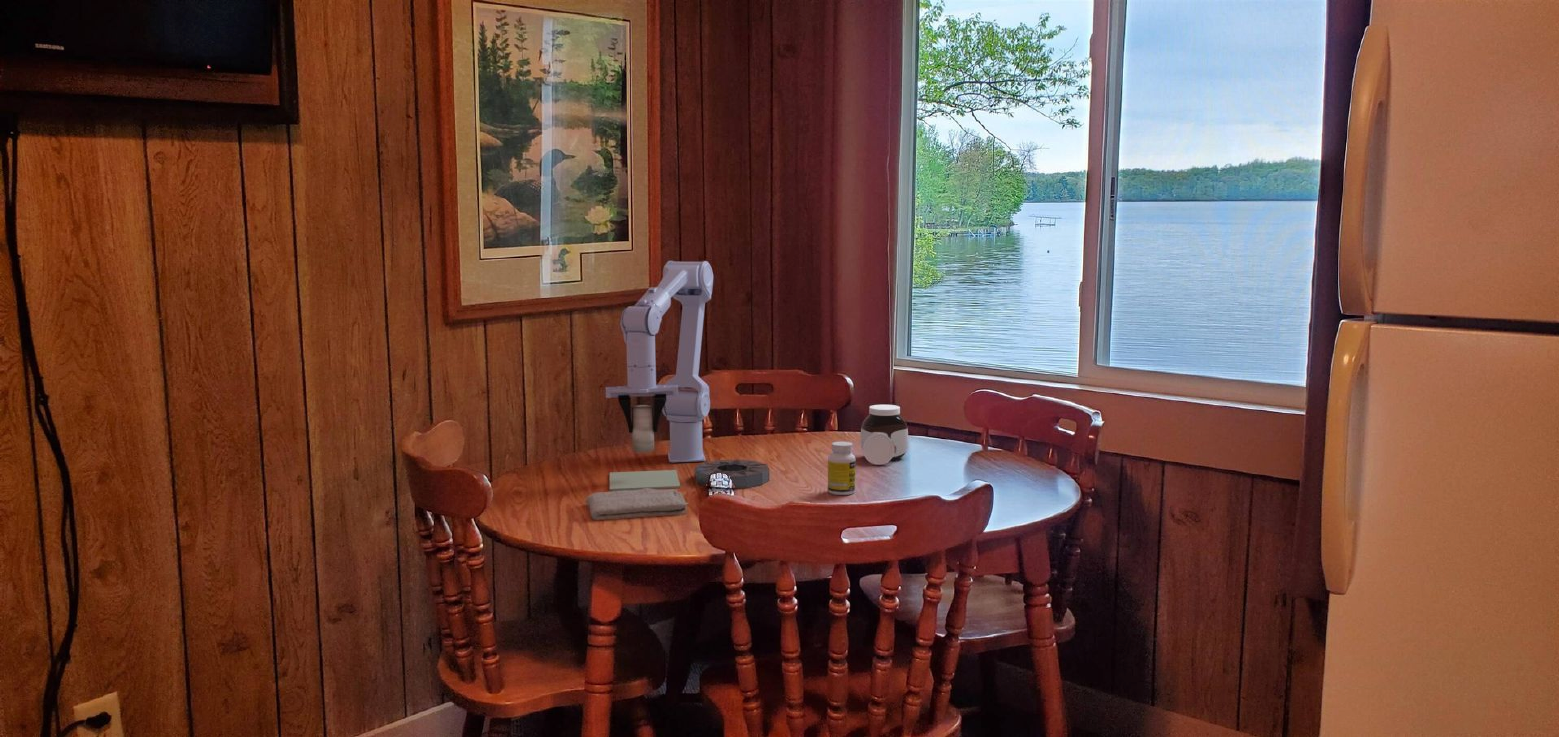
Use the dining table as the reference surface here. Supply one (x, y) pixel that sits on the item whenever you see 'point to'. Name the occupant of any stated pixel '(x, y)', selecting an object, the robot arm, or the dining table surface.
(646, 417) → the peg
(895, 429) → the spread jar
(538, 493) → the dining table surface
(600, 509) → the washcloth
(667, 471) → the pad
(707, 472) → the iron collar
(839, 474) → the supplement bottle
